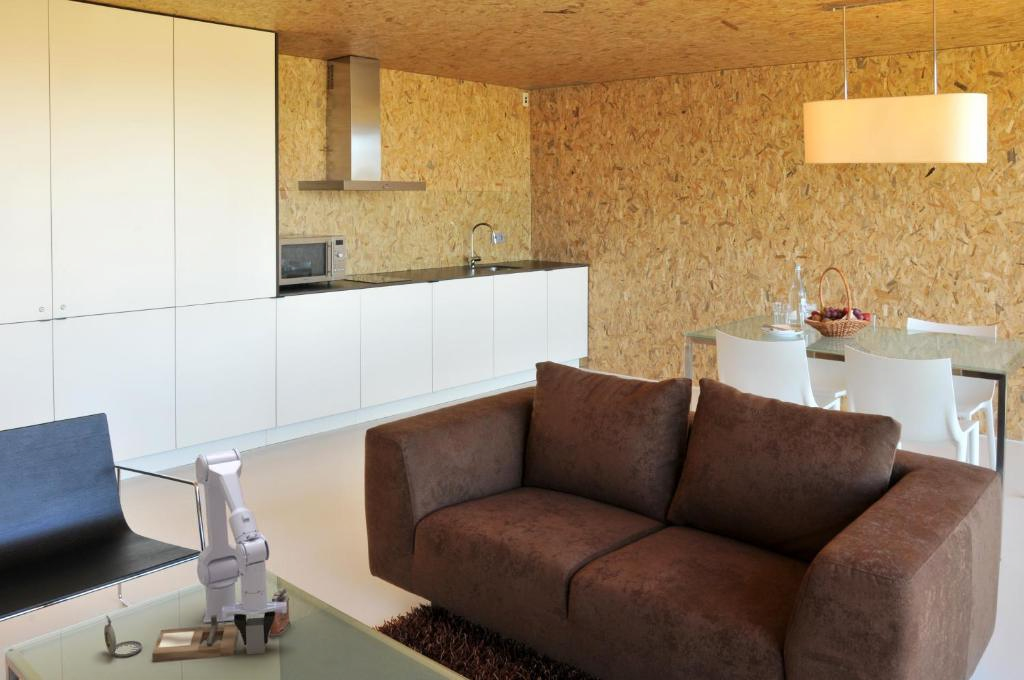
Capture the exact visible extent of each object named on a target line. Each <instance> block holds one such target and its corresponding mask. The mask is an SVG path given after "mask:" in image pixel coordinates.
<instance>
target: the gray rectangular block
mask: <svg viewBox="0 0 1024 680" xmlns="http://www.w3.org/2000/svg"><path fill="white" fill-rule="evenodd" d="M264 634H265V631H264V616H263V617H262V616H261V617H249V618H246V645H245V646H246V654H247V655H253V654H256V655H257V654H264V653H265V652H266V645H267V644H264Z"/></svg>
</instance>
